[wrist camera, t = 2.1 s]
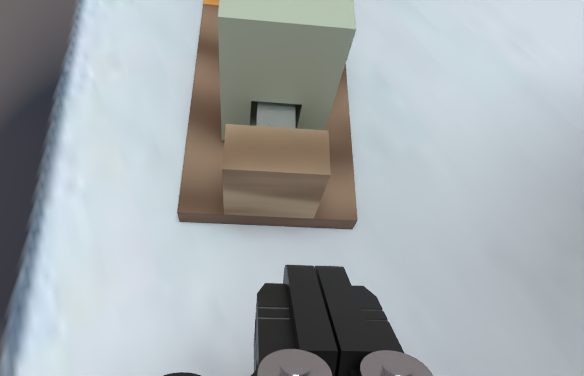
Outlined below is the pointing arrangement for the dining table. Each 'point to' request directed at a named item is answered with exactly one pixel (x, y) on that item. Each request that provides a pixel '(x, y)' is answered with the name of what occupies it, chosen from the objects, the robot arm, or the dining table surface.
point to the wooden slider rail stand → (262, 159)
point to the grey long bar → (275, 114)
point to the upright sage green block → (282, 57)
